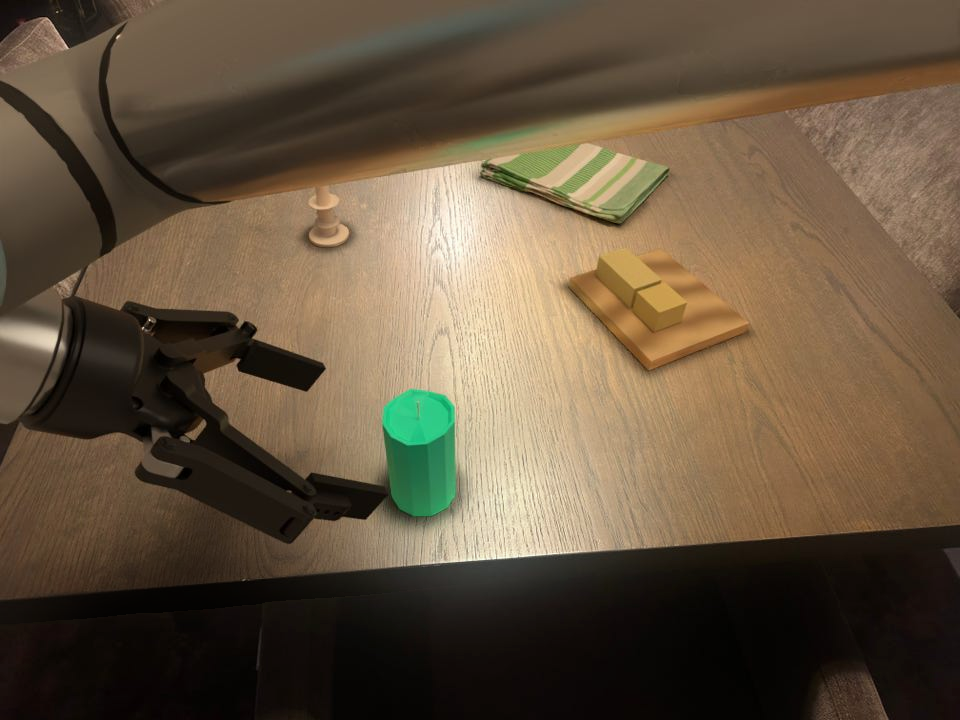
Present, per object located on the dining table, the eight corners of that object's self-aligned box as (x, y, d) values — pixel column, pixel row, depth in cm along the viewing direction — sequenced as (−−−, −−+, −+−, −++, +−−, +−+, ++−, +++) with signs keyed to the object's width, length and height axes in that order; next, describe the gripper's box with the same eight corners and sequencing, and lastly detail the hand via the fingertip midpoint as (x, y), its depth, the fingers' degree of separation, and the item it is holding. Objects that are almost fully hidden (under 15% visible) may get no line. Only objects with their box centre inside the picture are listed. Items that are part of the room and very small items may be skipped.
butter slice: (681, 322, 76) (687, 302, 74) (653, 332, 75) (659, 312, 73) (659, 301, 79) (665, 281, 77) (631, 311, 78) (636, 291, 75)
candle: (470, 488, 62) (471, 401, 53) (422, 529, 59) (415, 444, 50) (425, 451, 65) (419, 364, 56) (377, 489, 62) (364, 402, 53)
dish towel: (618, 230, 92) (621, 212, 90) (476, 178, 101) (476, 161, 99) (668, 175, 103) (672, 159, 101) (536, 133, 111) (537, 117, 109)
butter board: (745, 332, 78) (749, 322, 77) (648, 370, 73) (651, 361, 72) (659, 257, 88) (661, 248, 87) (568, 287, 83) (570, 277, 82)
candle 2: (355, 229, 91) (346, 158, 83) (338, 251, 87) (327, 179, 80) (320, 222, 92) (308, 151, 84) (302, 243, 88) (288, 171, 81)
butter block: (656, 299, 79) (662, 279, 77) (629, 309, 78) (634, 289, 76) (621, 266, 84) (626, 246, 81) (595, 275, 82) (598, 255, 80)
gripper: (1, 279, 44) (271, 366, 60) (15, 603, 29) (372, 605, 45) (55, 190, 43) (319, 304, 58) (101, 487, 27) (443, 532, 43)
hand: (343, 435), depth 52 cm, fingers open, 13 cm apart
